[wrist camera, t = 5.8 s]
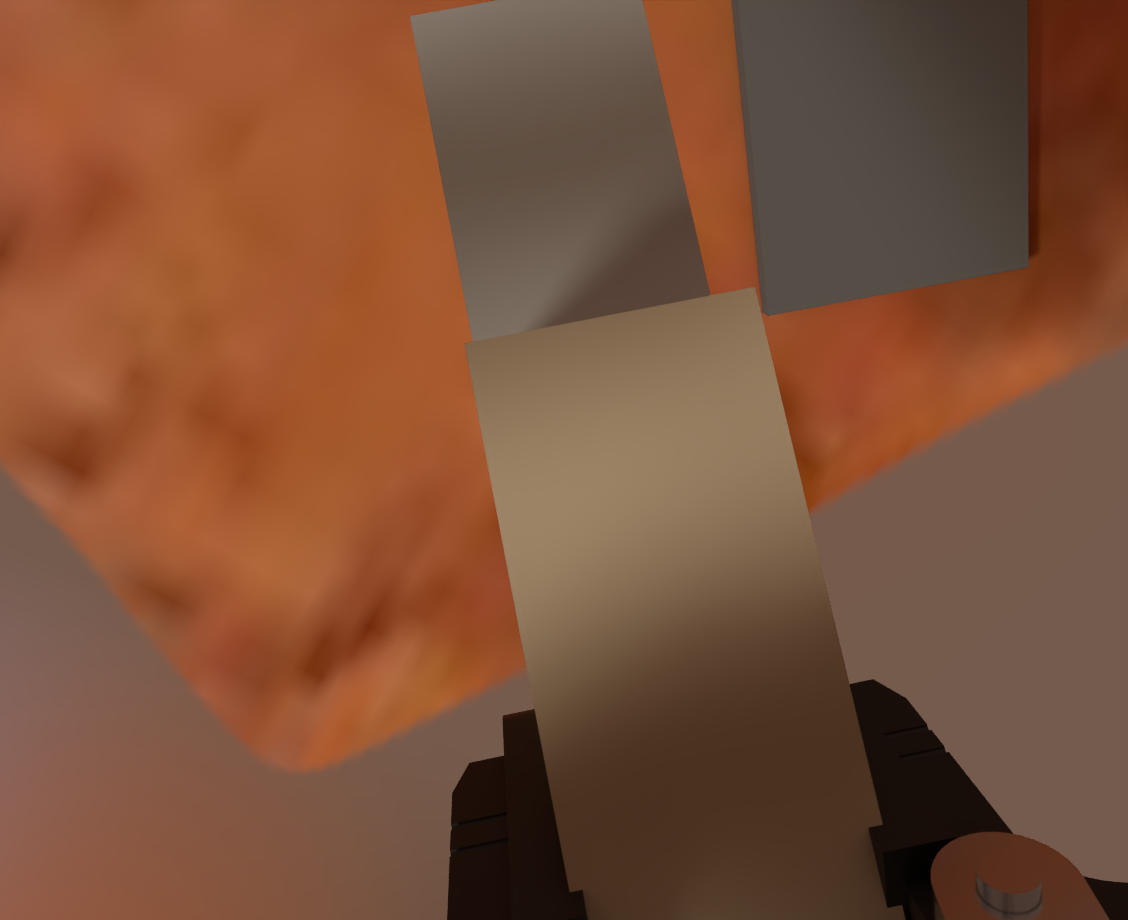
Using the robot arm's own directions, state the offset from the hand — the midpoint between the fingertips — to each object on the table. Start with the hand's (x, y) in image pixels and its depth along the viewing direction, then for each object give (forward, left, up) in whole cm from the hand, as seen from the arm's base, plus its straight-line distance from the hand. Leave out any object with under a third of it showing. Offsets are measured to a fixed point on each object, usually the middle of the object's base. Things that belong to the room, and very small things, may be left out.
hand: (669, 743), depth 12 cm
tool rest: (+11, +11, -17) cm, 23 cm away
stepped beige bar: (0, +1, -2) cm, 3 cm away
